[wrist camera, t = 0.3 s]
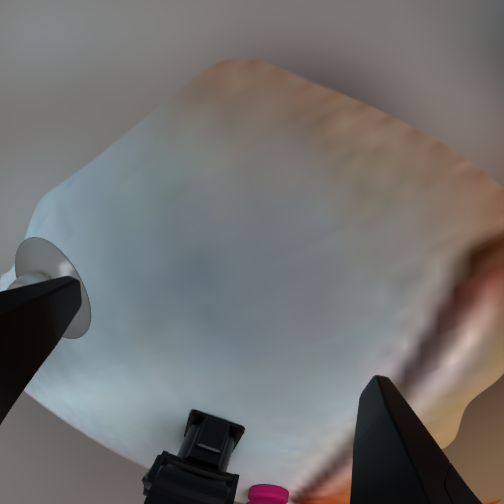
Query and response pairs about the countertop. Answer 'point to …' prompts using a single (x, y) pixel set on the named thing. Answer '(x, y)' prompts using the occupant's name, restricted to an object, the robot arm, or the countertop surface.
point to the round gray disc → (53, 276)
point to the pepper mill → (267, 495)
